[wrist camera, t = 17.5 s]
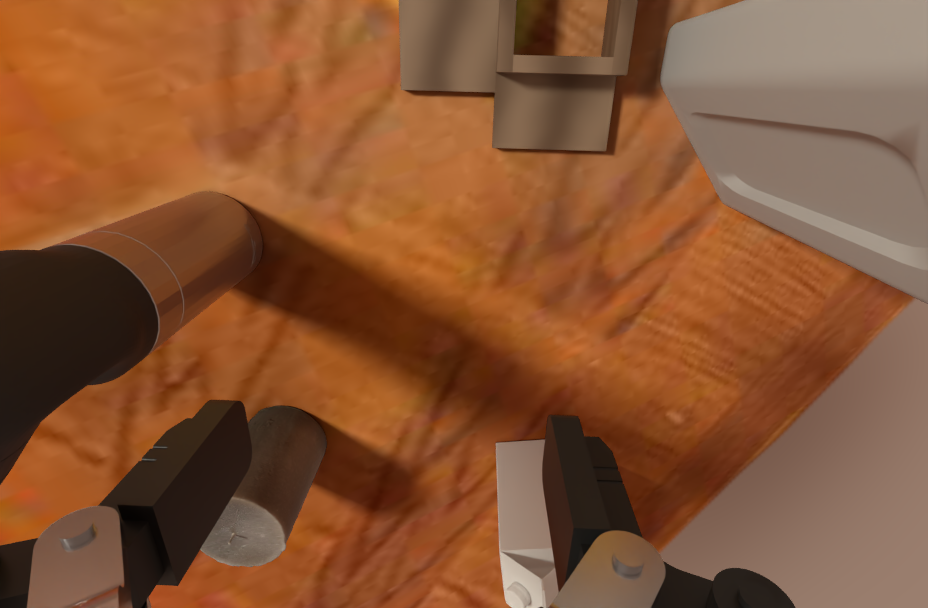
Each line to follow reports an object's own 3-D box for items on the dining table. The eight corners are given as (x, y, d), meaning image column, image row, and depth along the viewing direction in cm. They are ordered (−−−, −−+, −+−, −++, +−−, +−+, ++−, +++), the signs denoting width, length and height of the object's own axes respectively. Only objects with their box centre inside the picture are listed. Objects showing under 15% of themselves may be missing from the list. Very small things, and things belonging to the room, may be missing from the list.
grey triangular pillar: (637, 202, 46) (829, 347, 20) (670, 21, 40) (1004, -96, 14) (842, 212, 46) (1300, 372, 20) (907, 31, 40) (1682, -71, 14)
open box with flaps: (404, 143, 45) (393, 151, 39) (397, -147, 36) (382, -187, 31) (608, 149, 44) (625, 158, 39) (649, -143, 36) (678, -183, 30)
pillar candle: (250, 396, 57) (175, 497, 43) (333, 416, 57) (285, 521, 44) (245, 459, 61) (175, 569, 47) (323, 476, 61) (275, 589, 48)
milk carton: (555, 437, 57) (587, 589, 40) (557, 483, 60) (588, 643, 43) (495, 441, 58) (500, 592, 41) (500, 486, 61) (507, 646, 43)
